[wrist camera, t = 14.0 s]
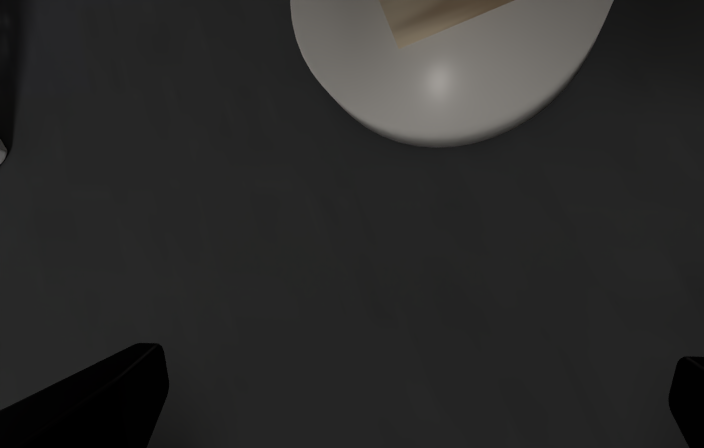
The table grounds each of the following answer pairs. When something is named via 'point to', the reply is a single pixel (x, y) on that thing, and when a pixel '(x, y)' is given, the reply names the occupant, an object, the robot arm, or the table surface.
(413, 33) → the maple block
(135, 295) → the table surface
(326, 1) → the white round disc
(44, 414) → the robot arm
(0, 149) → the skincare box
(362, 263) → the table surface
